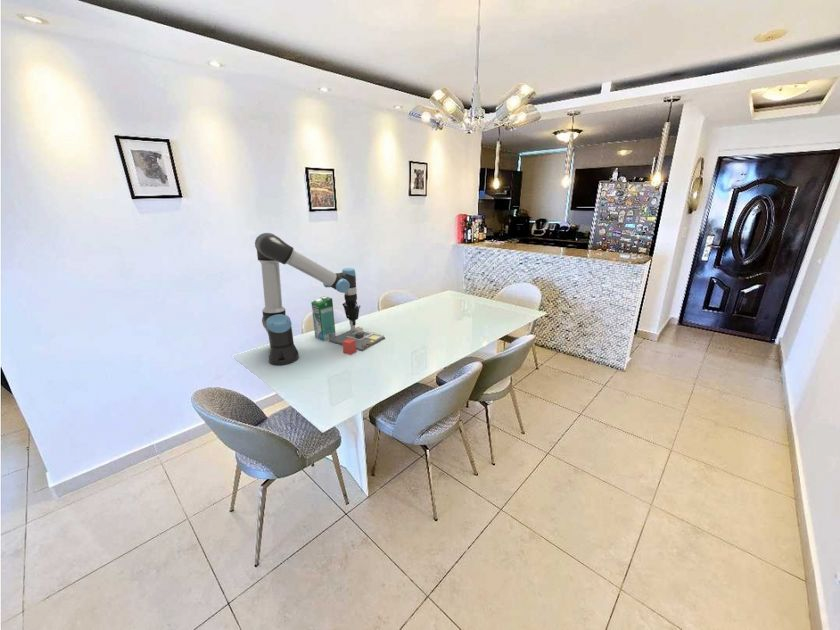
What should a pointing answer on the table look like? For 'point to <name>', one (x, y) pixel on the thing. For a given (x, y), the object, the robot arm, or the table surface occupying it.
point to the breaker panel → (359, 339)
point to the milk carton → (323, 318)
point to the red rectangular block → (349, 346)
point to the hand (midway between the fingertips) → (353, 329)
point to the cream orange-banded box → (358, 329)
